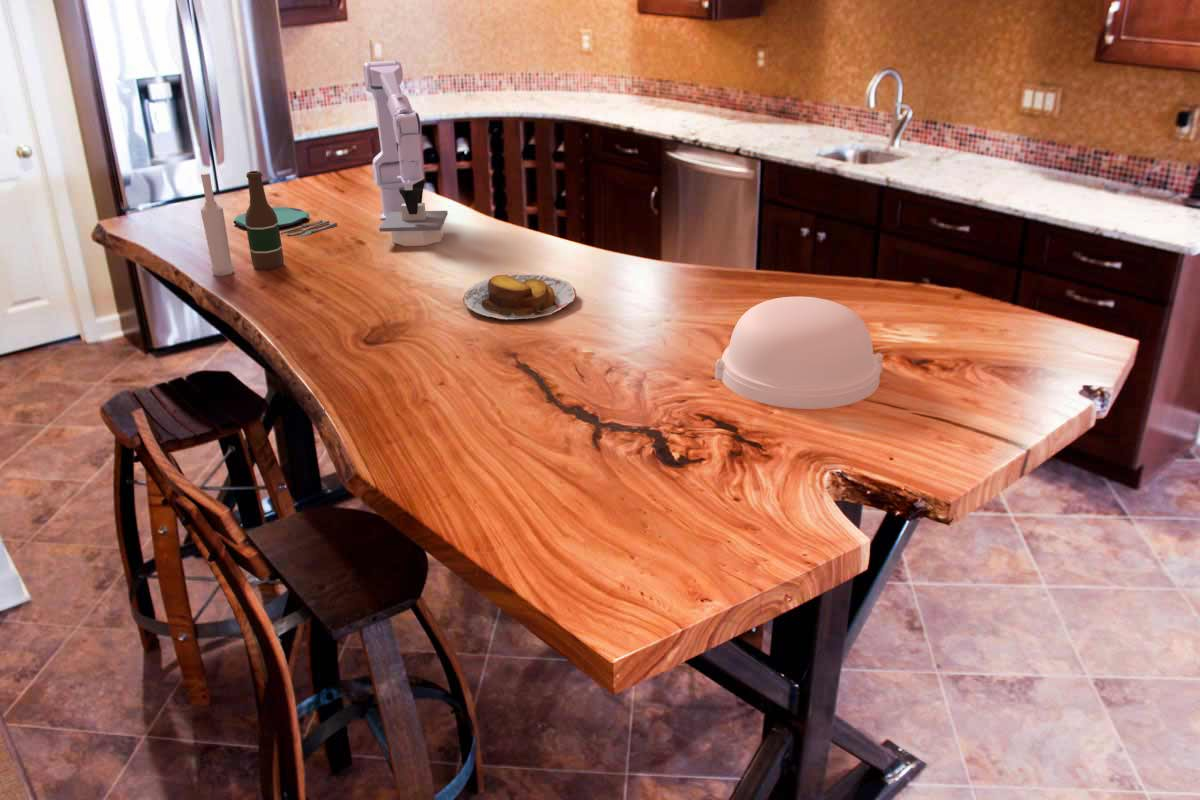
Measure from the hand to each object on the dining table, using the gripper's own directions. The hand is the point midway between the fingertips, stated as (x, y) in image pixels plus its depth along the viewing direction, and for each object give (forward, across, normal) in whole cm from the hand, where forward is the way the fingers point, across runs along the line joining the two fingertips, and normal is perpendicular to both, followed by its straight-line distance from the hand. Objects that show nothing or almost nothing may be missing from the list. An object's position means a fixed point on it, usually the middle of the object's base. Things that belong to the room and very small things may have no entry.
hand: (415, 210), depth 284 cm
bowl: (+8, 0, 0) cm, 8 cm away
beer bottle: (+8, +21, -35) cm, 42 cm away
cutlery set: (+9, -18, -42) cm, 46 cm away
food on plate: (+8, +53, +31) cm, 62 cm away
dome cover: (+8, +96, +87) cm, 130 cm away
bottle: (+8, +26, -45) cm, 53 cm away
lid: (+3, 0, 0) cm, 3 cm away
